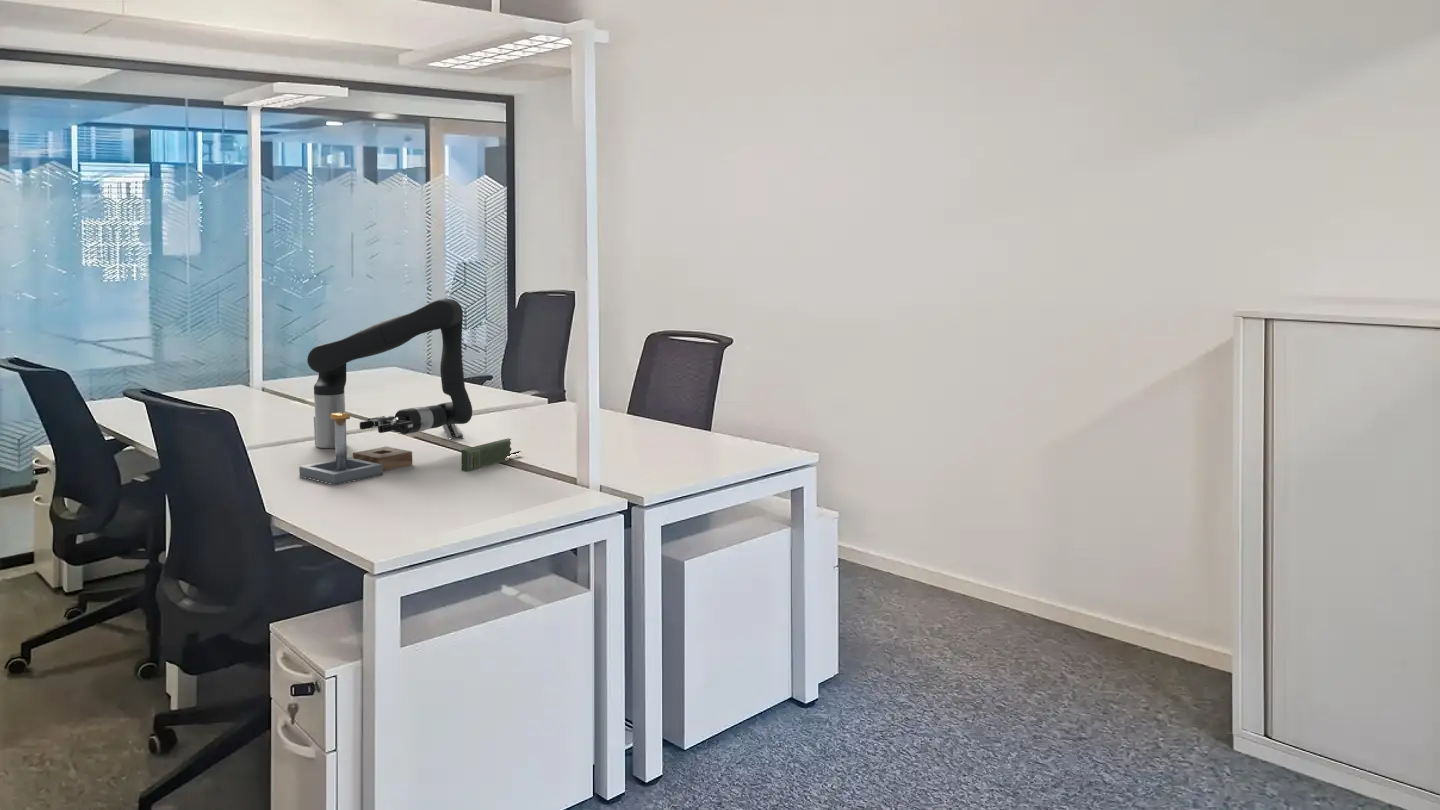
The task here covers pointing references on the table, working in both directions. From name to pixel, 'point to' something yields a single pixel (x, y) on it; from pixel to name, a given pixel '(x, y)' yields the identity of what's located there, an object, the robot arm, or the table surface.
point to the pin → (340, 440)
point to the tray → (329, 474)
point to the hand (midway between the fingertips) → (369, 427)
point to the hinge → (452, 430)
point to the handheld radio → (485, 454)
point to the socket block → (386, 457)
